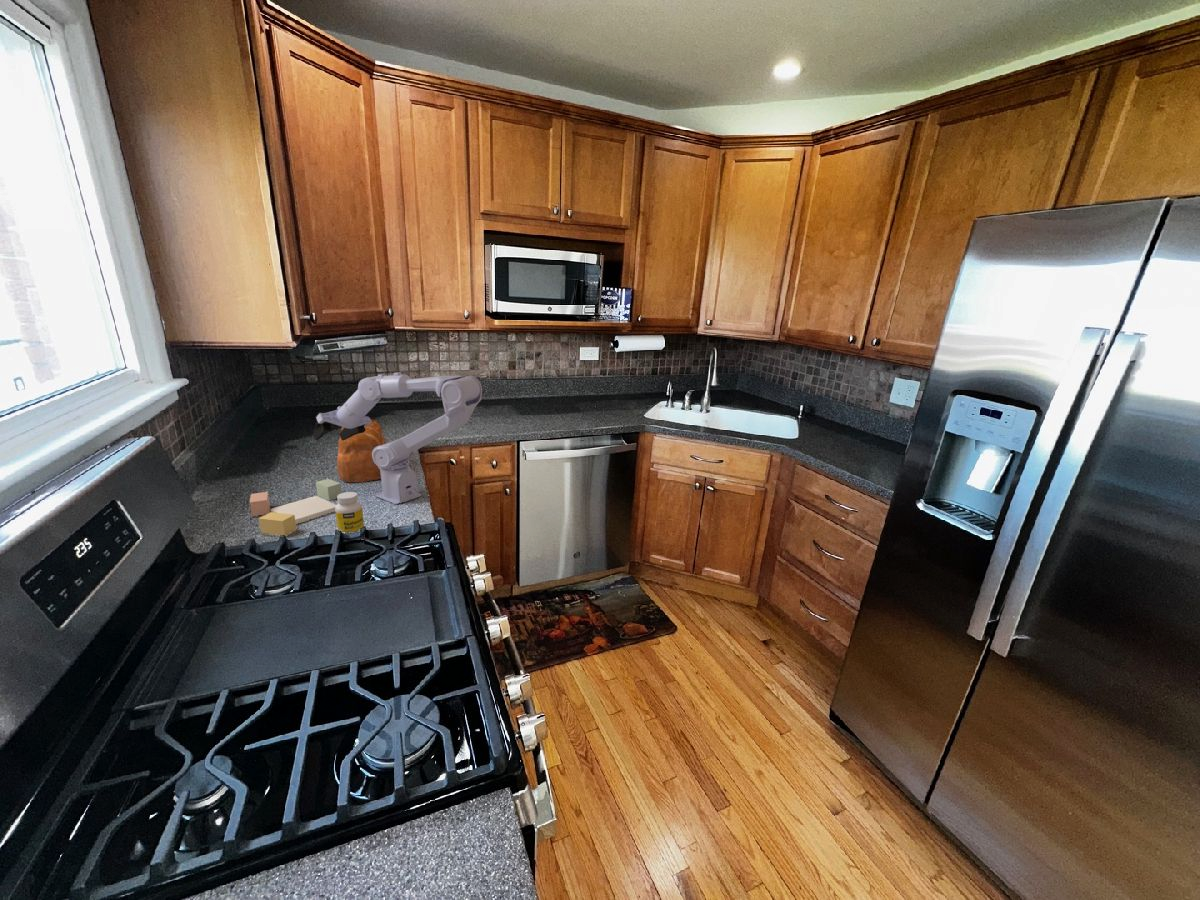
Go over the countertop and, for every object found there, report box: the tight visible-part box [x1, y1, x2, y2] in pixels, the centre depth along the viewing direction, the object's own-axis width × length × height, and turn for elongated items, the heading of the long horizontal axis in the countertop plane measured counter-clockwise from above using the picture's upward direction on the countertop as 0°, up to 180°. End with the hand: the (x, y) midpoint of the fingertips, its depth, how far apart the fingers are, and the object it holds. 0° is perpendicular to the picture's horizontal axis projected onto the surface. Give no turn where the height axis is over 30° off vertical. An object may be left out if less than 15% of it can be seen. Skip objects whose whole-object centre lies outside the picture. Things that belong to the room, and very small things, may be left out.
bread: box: [336, 418, 387, 483], centre depth 149 cm, size 14×26×16 cm, turn 24°
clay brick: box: [249, 491, 271, 517], centre depth 118 cm, size 6×4×4 cm, turn 33°
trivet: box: [270, 495, 337, 525], centre depth 119 cm, size 11×11×1 cm
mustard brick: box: [258, 511, 298, 536], centre depth 108 cm, size 6×4×4 cm, turn 82°
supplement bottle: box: [334, 491, 365, 533], centre depth 107 cm, size 5×5×10 cm
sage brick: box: [315, 478, 343, 502], centre depth 128 cm, size 6×4×4 cm, turn 57°
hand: (328, 437), depth 131 cm, fingers open, 7 cm apart
